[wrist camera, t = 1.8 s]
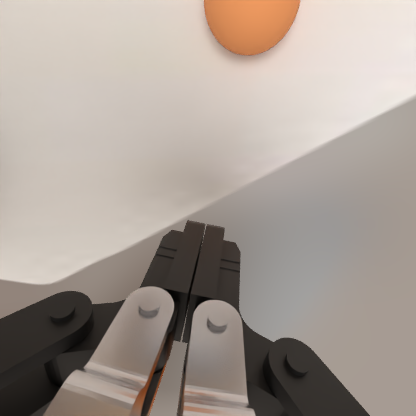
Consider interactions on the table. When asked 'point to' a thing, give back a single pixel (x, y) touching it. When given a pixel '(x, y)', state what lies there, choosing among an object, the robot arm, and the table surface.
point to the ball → (250, 23)
